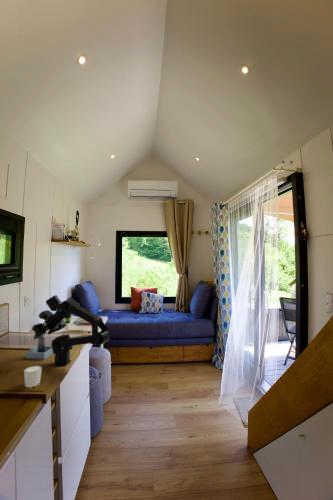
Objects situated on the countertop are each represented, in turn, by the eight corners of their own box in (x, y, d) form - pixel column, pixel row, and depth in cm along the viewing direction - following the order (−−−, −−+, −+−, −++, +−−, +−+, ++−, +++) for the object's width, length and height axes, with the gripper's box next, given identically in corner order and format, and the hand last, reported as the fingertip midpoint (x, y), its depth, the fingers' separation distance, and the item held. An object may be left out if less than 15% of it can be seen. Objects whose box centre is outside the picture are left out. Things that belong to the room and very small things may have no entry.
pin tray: (55, 352, 147) (55, 346, 147) (44, 359, 136) (44, 353, 136) (37, 351, 148) (38, 345, 148) (25, 358, 137) (25, 352, 137)
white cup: (44, 381, 112) (44, 365, 112) (36, 389, 105) (37, 372, 105) (28, 381, 111) (29, 365, 112) (20, 389, 105) (20, 372, 105)
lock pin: (45, 355, 140) (46, 333, 140) (33, 356, 138) (34, 333, 139) (47, 351, 146) (48, 330, 146) (36, 352, 144) (37, 330, 145)
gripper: (62, 303, 144) (47, 321, 147) (35, 309, 127) (18, 329, 130) (73, 318, 141) (57, 335, 144) (47, 326, 124) (29, 346, 127)
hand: (41, 336), depth 136 cm, fingers open, 9 cm apart
